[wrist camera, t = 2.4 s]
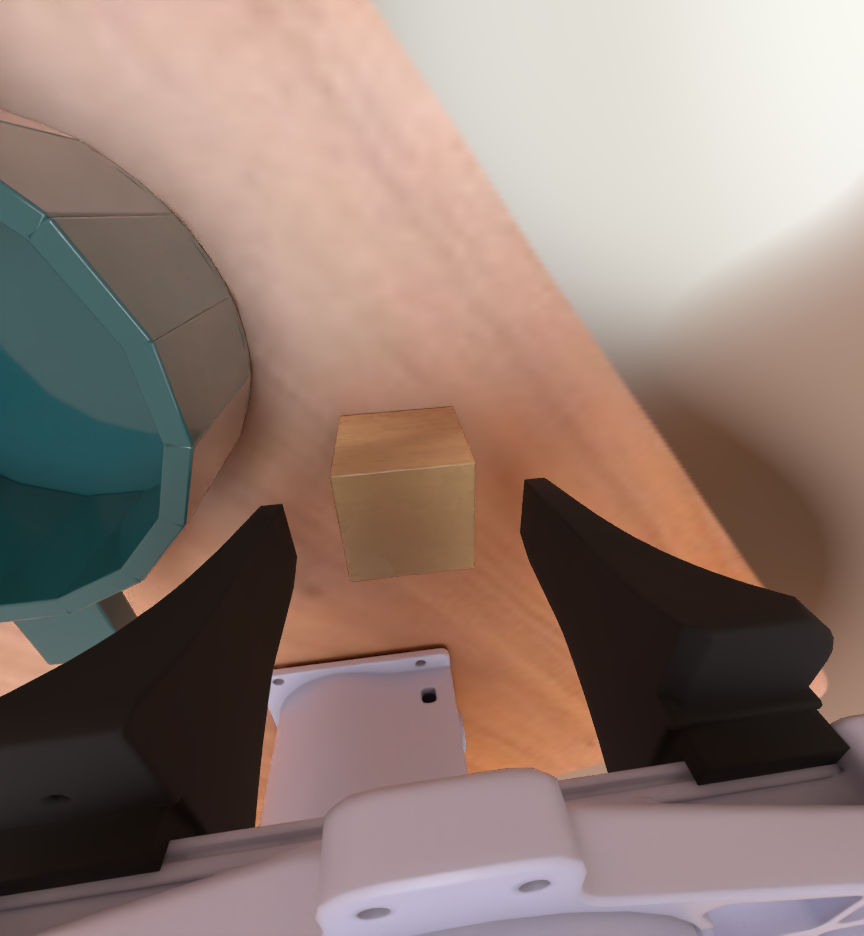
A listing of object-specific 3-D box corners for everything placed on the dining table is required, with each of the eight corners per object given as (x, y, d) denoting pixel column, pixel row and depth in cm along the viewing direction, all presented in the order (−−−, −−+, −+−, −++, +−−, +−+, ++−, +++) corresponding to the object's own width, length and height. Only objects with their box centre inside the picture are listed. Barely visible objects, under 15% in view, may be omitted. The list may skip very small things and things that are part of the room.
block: (453, 405, 15) (476, 462, 12) (455, 497, 17) (474, 568, 14) (339, 415, 15) (328, 476, 11) (355, 508, 17) (350, 583, 14)
